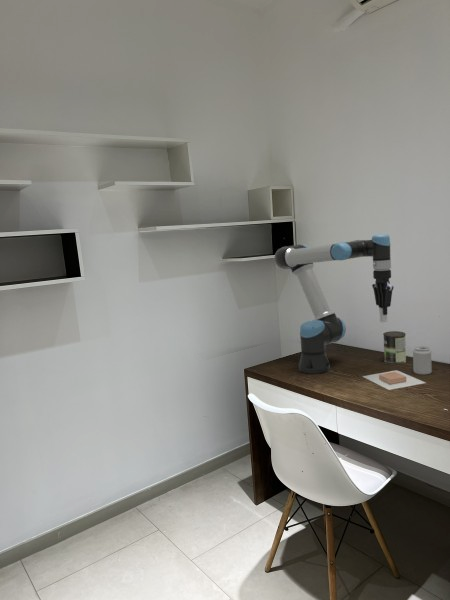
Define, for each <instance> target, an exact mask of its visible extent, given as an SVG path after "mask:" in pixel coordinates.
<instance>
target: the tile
mask: <svg viewBox="0 0 450 600" xmlns="http://www.w3.org/2000/svg"><path fill="white" fill-rule="evenodd" d="M389 372H390V371H389ZM379 379H380V380H383V381H385V382H387V383H389V384H394V383H400V382H405V381H407V380H406V376H404V375H401V374H399V373H397V372H390V373H385V374H379Z"/></svg>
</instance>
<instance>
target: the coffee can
mask: <svg viewBox="0 0 450 600" xmlns="http://www.w3.org/2000/svg"><path fill="white" fill-rule="evenodd" d="M406 334H407V333H405V332H403V331H398V330H397V331H396V330H393V331H391V330H390V331H386V332H383V356H384V357H383V358H384V359H383V361H384V363H391V364H399V363H404V364H405V363H406V362H407V357H406V356H407V355H406V353H407V351H406V350H407V349H406Z"/></svg>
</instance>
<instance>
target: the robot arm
mask: <svg viewBox="0 0 450 600" xmlns="http://www.w3.org/2000/svg"><path fill="white" fill-rule="evenodd" d="M361 257H362V258H363V257H366V258H367V257H372V268H373V272H372V274H373V276H372V277H373V279H374V280H375V283H373V284H372V285H371V286H372V289H373V293H374V300H375V304H376V305H375V306H378V309H379V322H380V323H386V322H388V308H390V307H391V305H392V304H391V303H392V295H393V290H394V285H391V283H390V279H391V278H392V270H391V269H392V260H391V238H390V235H389V234H374V235H372V236H371V239H361V240H360V239H357V240H352V241H346V242H337V243H331V244H323V245H316V246H308V245H306V244H295V245H288V246H287V245H285V246H282V247H281V248H278V249H277V250H276V252H275V254H274V262H275V264H276V265H277V266H278V268H280V269H283V270H289V269H290V270H291V273H292V274H293V275H295V276H296V277H297V279H298V281H299V283H300V286H301V288H302V291H303V293H304V295H305V297H306V300H307V302H308V304H309V307H310V309H311V312H312V313H313V314H312V315H313V316H314V319H312V320H308V321H305V322H304V323H302V324H301V325H300V326H299V327H300V330H299V336H300V349H301V355H300V360H299V361H298V362H299V363H298V371H299V372H301V373H305V374H309V375H317V374H324V373H328V372H329V371H330V370H331V364H330V361H329V359H328V357H327V356H328V355H327V352H326V346H327V345H330V344H333V343H336V342H338V341H340V340H342V339H343V338H344V337H345V334H346V330H347V327H346V324H345V322H344V320H343V319H341V318H340V317H337V315H336V313H335V312H334V311H332V310H331V309H330V306H329V305H328V302H327V300H326V297H325V295H324V293H323V290H322V288H321V286H320V283H319V281H318V279H317V277H316V275H315V272H314V270H313V268H314V266H315V265H314V264H315V263H323V262H324V263H325V262H332V261H333V262H335V261H346V260H351V259H355V258H361Z"/></svg>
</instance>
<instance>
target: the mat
mask: <svg viewBox="0 0 450 600" xmlns="http://www.w3.org/2000/svg"><path fill="white" fill-rule="evenodd" d="M390 372H397V373H399V374H401V375H404V376H406V380H407V381H405V382H400V383H394V384H389V383H387V382H385V381H383V380H380V379H379V374H385V373H390ZM362 378H365V379H367V380H369V381H370V382H372V383H374V384H376V385H378V386H381V388H384V389H386V390H388V391H392V390H396V389H402V388H407V387H412V386H418V385H423V384H426V382H425V381H423V380H420V379H418V378H416V377H413V376H412V375H409V374H406V373H405V372H402V371H399V370H397V369H396V370H395V369H394V370H391V371H386V372H379V373H374V374H373V373H372V374H367V375H362Z"/></svg>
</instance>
